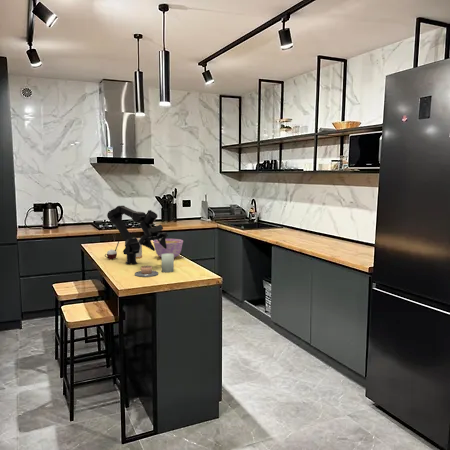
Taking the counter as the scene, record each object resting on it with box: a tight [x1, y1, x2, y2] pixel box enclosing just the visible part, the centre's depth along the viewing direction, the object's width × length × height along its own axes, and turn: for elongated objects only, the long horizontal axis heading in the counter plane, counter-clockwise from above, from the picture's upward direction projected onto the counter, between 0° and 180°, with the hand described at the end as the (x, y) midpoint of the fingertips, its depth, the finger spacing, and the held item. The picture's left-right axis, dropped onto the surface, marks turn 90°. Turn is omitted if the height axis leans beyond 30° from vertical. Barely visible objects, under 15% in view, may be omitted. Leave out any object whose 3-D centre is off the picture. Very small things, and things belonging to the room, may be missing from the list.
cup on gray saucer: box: [134, 265, 159, 278], centre depth 236 cm, size 13×13×4 cm
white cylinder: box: [160, 253, 175, 273], centre depth 244 cm, size 7×7×10 cm
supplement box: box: [136, 237, 143, 259], centre depth 282 cm, size 8×5×13 cm, turn 75°
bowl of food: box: [152, 238, 184, 259], centre depth 282 cm, size 20×20×12 cm
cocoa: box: [104, 240, 120, 260], centre depth 277 cm, size 10×6×12 cm, turn 72°
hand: (160, 249), depth 247 cm, fingers open, 9 cm apart
